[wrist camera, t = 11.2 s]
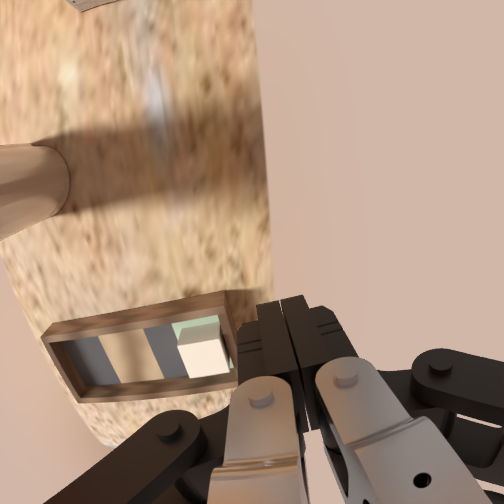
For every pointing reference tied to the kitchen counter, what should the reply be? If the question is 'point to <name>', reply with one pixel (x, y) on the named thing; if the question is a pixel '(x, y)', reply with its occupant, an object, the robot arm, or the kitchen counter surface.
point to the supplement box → (86, 4)
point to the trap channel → (138, 351)
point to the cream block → (204, 350)
